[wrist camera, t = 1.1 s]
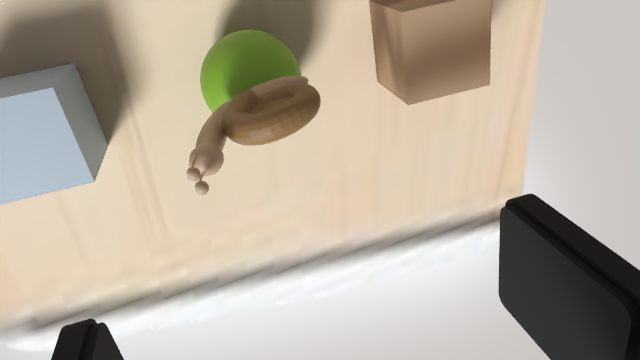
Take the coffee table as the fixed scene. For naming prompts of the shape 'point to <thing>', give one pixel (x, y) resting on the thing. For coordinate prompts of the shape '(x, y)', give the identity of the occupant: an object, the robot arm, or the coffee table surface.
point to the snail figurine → (249, 98)
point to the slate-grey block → (47, 133)
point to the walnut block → (431, 46)
